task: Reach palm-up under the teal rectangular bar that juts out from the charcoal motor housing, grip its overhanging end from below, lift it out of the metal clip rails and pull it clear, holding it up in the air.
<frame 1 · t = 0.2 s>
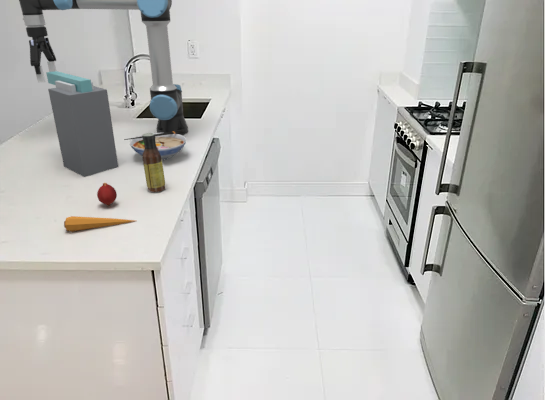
hand: (48, 79, 188), 28 cm above the countertop, tool pointing down, fingers open, 13 cm apart
teal rectangular bar: (69, 86, 162), point 30 cm above the countertop, touching motor housing
motor housing: (91, 166, 171), on the countertop
carrot: (102, 227, 128), on the countertop
sauce bottle: (156, 190, 152), on the countertop
onion: (108, 205, 141), on the countertop
ramen bowl: (160, 158, 182), on the countertop
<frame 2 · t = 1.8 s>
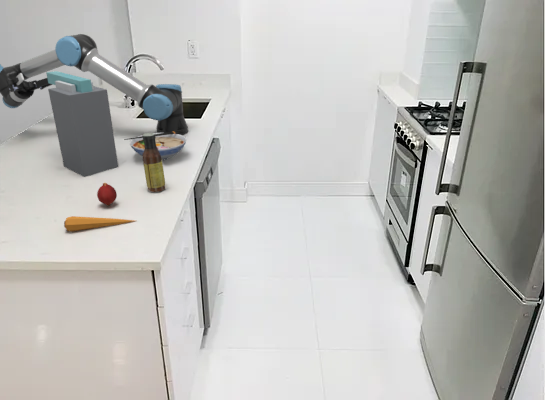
hand: (39, 75, 179), 31 cm above the countertop, tool pointing upward, fingers open, 13 cm apart
nothing on the countertop moved.
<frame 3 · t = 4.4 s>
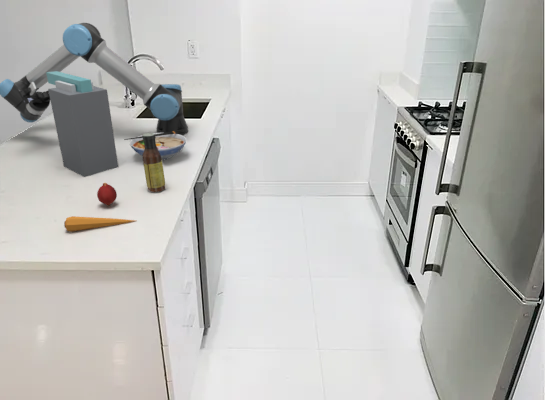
hand: (52, 82, 169), 30 cm above the countertop, tool pointing upward, fingers open, 13 cm apart
nothing on the countertop moved.
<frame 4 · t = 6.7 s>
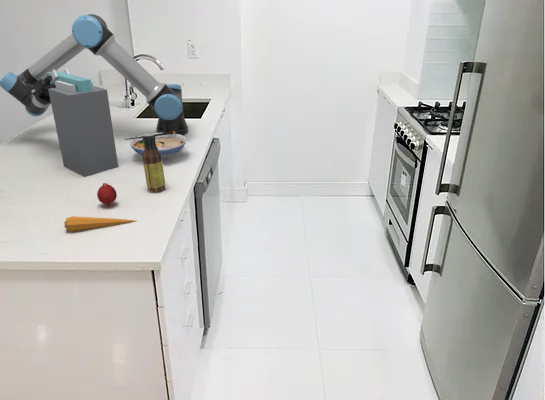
hand: (61, 72, 162), 35 cm above the countertop, tool pointing upward, fingers closed on teal rectangular bar, 4 cm apart
teal rectangular bar: (69, 86, 162), point 30 cm above the countertop, touching gripper, motor housing
everything else where it was.
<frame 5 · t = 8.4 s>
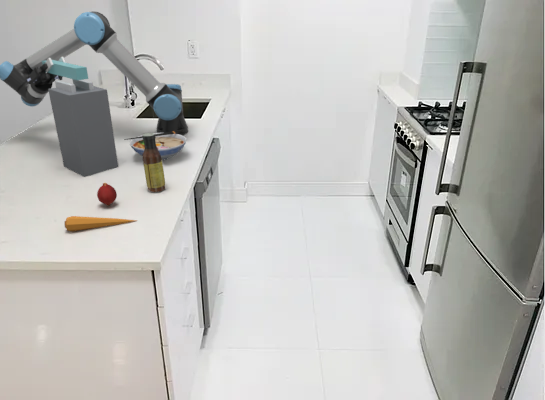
hand: (57, 60, 162), 39 cm above the countertop, tool pointing upward, fingers closed on teal rectangular bar, 4 cm apart
teal rectangular bar: (65, 75, 161), point 34 cm above the countertop, touching gripper
everything else where it was.
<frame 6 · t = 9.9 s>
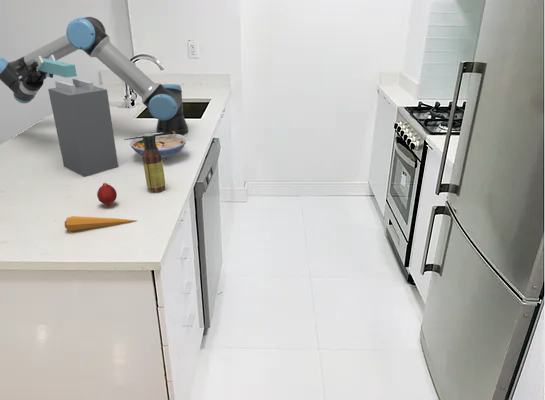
hand: (47, 58, 167), 39 cm above the countertop, tool pointing upward, fingers closed on teal rectangular bar, 4 cm apart
teal rectangular bar: (55, 72, 166), point 34 cm above the countertop, touching gripper
everything else where it was.
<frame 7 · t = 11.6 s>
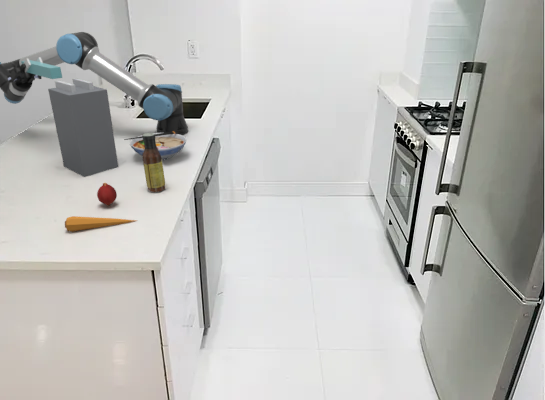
hand: (34, 61, 175), 37 cm above the countertop, tool pointing upward, fingers closed on teal rectangular bar, 4 cm apart
teal rectangular bar: (42, 74, 174), point 32 cm above the countertop, touching gripper
everything else where it was.
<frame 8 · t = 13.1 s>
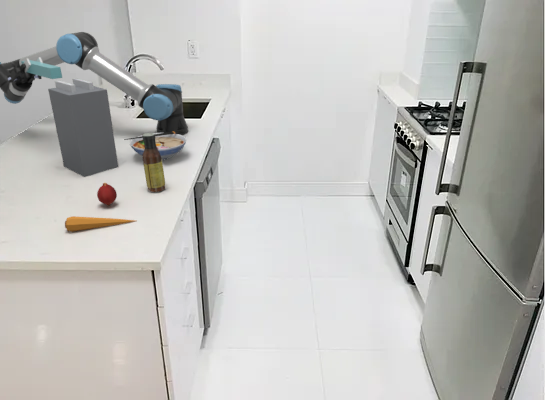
hand: (34, 61, 175), 37 cm above the countertop, tool pointing upward, fingers closed on teal rectangular bar, 4 cm apart
teal rectangular bar: (42, 74, 174), point 32 cm above the countertop, touching gripper
everything else where it was.
at the end: the gripper is holding teal rectangular bar; teal rectangular bar touching gripper; teal rectangular bar moved 22.2 cm from its start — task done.
